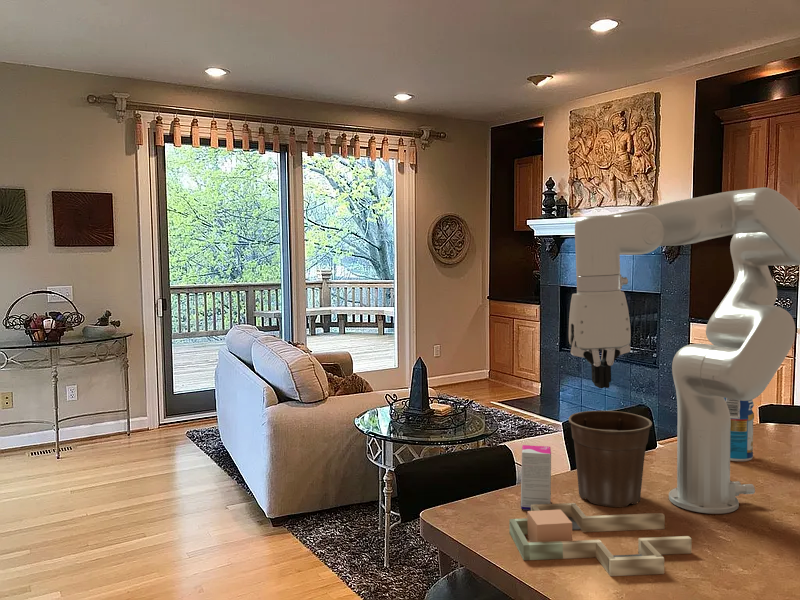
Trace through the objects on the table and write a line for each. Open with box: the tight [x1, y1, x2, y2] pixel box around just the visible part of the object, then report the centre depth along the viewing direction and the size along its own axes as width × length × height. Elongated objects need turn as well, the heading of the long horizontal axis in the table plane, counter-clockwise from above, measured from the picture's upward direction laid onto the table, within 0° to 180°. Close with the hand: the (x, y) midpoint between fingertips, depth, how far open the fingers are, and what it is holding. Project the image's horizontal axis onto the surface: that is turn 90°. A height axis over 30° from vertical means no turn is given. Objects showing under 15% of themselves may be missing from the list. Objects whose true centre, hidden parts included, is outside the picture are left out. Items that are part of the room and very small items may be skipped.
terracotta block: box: [526, 509, 573, 542], centre depth 114 cm, size 6×6×5 cm
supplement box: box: [520, 444, 552, 511], centre depth 132 cm, size 6×6×12 cm
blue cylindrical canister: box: [724, 398, 755, 462], centre depth 160 cm, size 8×8×20 cm
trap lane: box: [508, 502, 692, 577], centre depth 114 cm, size 28×24×2 cm
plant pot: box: [568, 410, 653, 508], centre depth 135 cm, size 16×16×16 cm
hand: (601, 386), depth 119 cm, fingers closed
